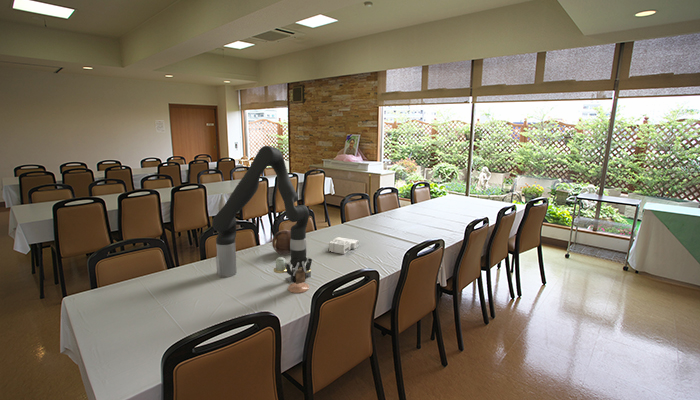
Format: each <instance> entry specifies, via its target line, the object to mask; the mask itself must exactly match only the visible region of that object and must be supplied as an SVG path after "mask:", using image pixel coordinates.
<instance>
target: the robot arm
mask: <svg viewBox="0 0 700 400" xmlns="http://www.w3.org/2000/svg"><path fill="white" fill-rule="evenodd" d="M267 167H271V168H272V169H273V171H274V173H275V175H276V178H277V188H278V189H277V190H278V192H279V194H280V196H281V198H282V201H283V205H284V210H285V216H286V218H287V219H288V220H289V222H291V223H295V224H294V225H292V226H291V227H290V231H291V241H290V260H289V261H288V262H286V263H285V267H286V270H287V275H289V276H290V277H291V280H292V281H293V282H292V283H295V282H296V276H295V274H296V271H297V269H298V268H301V269H302V270H303V271H304V272H305V280H306V279H307V276H306V272H307V271H309V270H310V268H311V266H312V262H313V259H312V258H310V257H307V239H306V238H307V235H306V233H307V231H306V230H307V227H308V221H309V218H310V211H309V209H308V207H307V205H305V204H300V205H295V203H296V202H297V201H298V200H299V195H298V193H297V192H296V189H295V187H294V185H293V183H292V180H291V178H290V175H289V172H288V168H287V166H286V162H285V159H284V155H283V153H282V151H281V150H280V149H279V148H276V147H273V146H270V145H264V146H262V147H261V148H260V149H259V150H258V152H257V153H256V155H255V157H254V159H253V161H252V162H251V164H250V166H249V168H248V169H246V170H247V171H246V172H245V173H244V175H243V177H242V178H241V179H240V180H239V182H238V184H237V185H236V186H235V188H234V190H233V191H232V192H231V194H230V196H229V197H228V199H227V201H226V203H225V204H224V205H223V206H222V207H221V209H220V210H219V211H218V212H217V213H216V214H215V215H214V217H213V219H212V220H211V221H212V222H211V223H212V224H211V226H212V228H213V229H214V231H216V232H218V234H217V236H216V238H215V240H216V241H215V243H216V256H215V262H216V263H215V264H216V274H217V275H218V276H219V278H228V277H233V276H235V275H236V274H237V273H238V272H237V271H238V270H237V268H238V267H237V255H236V254H237V253H236V252H237V251H236V237H237V219H236V215H237V214H238V213H239V212H240V211H241V210H242V209H243V208H244V207H245V206H246V205H247V204H248V203H249V202H250V201H251V200H252V199H253V197H254V195H255V194H256V193H257V191H258V189H259V184H260V178H261V175H262V174H263V173H264V171H265V170H266V168H267Z"/></svg>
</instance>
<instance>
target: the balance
mask: <svg viewBox="0 0 700 400" xmlns="http://www.w3.org/2000/svg"><path fill="white" fill-rule="evenodd" d="M299 269H301V268H298V269H297V270H299ZM301 270H302V269H301ZM311 271H312V269H311V267H310V270H309V271H307V272H306V278H311V276H312V272H311ZM273 272H274V273H276V274H284V273H285V274H286V273H287V270H284V271H277V270H276V267H274V268H273ZM287 274H288V273H287ZM284 279H285V281H286V282H287V283H289V284H292V283H294V282H293V281H292V280H291V276H287V277H285V278H284Z"/></svg>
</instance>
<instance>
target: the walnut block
mask: <svg viewBox="0 0 700 400" xmlns="http://www.w3.org/2000/svg"><path fill="white" fill-rule="evenodd" d="M295 276H296V282H295V283H296V284H299V283H306V279H305V272H304V271H303V270H301V269H299V270H297V271H296V274H295Z"/></svg>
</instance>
